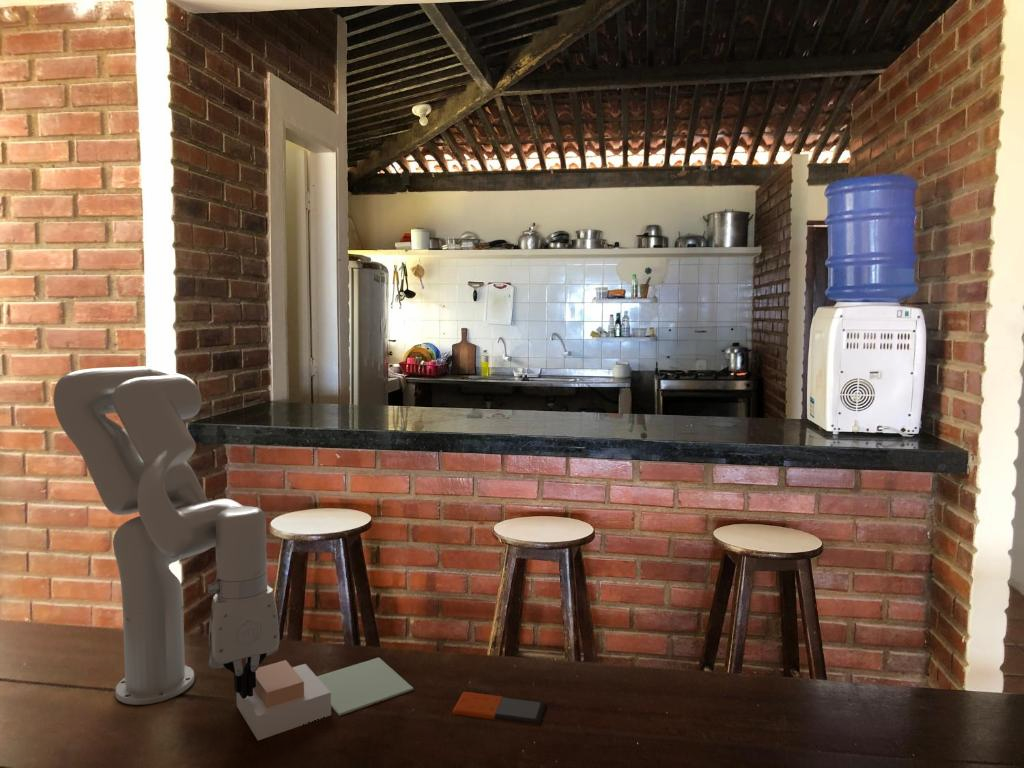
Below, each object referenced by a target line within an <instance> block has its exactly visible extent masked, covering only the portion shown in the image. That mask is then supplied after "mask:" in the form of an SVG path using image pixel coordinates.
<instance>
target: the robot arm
mask: <svg viewBox="0 0 1024 768" xmlns="http://www.w3.org/2000/svg"><path fill="white" fill-rule="evenodd" d="M202 399H203V398H202V393H201V390H200V389H199V387H198V385H197V384H196V383H195V382H194V380H192V379H191V378H190V377H189V376H186V375H185V374H181V373H178V372H174V371H171V370H166V369H162V368H158V367H154V366H147V365H145V366H142V365H138V366H116V367H114V366H113V367H109V366H108V367H94V368H93V367H92V368H86V369H85V368H84V369H79V370H74V371H72V372H68V373H67V374H65V375H63V376H62V377H60V378H59V380H58V381H57V382H56V384H55V387H54V390H53V407H54V410H55V411H54V412H55V415H56V418H57V421H58V423H59V424H60V427H61V428H62V429H63V432H64V433H65V434H66V436H67V437H68V438H69V439H70V441H71V443H72V444H73V445H74V446H75V447H76V449H77V450H78V452H79V453H80V455H81V456H82V459H83V461H84V463H85V465H86V469H87V470H88V472H89V475H90V477H91V480H92V481H93V483H94V486H95V488H96V490H97V492H98V495H99V497H100V499H101V501H102V503H103V504H104V506H105V508H106V509H107V510H108V511H109V512H110V513H112V514H114V515H117V516H123V515H124V516H125V515H132V514H135V513H136V514H137V513H138V514H139V515H138V516H136V517H133V518H131V519H129V520H127V521H126V522H125V521H124V522H123V524H121V525H120V526H119V527H118V528H117V530H116V531H115V534H114V535H113V539H112V547H113V553H114V557H115V560H116V565H117V569H118V573H119V574H118V575H119V579H120V580H119V581H120V587H121V588H120V589H121V605H122V606H121V609H122V622H123V623H122V625H123V626H122V629H123V651H124V653H123V654H124V657H123V658H124V675H125V677H123V678H122V679H121V680H120V681H119V682H118V683H117V685H116V686H115V698H116V699H117V700H118V701H119V702H121V703H123V704H127V705H131V706H133V705H134V706H137V705H138V706H139V705H140V706H142V705H151V704H156V703H160V702H163V701H168V700H170V699H172V698H174V697H176V696H179V695H181V694H182V693H184V692H185V691H186V690H188V689H189V688H190V687H191V686H192V685H193V684H194V681H195V679H196V678H195V671H194V669H193V668H191V667H190V666H189V665H186V662H185V657H186V656H185V636H184V635H185V633H184V632H185V629H184V599H183V595H184V594H183V588H182V583H181V581H180V580H179V578H178V577H177V576H176V575H175V574H174V573H173V572H172V570H171V569H170V565H171V564H173V563H176V562H178V561H181V560H184V559H187V558H189V557H192V556H196V555H198V554H202V553H204V552H206V551H208V550H210V549H211V548H215V553H216V554H215V556H216V559H215V561H216V576H215V580H214V582H212V583H209V584H207V585H206V587H207V588H206V589H207V593H208V594H210V593H215V594H214V595H213V599H212V602H211V609H210V615H209V625H208V626H209V627H208V650H209V652H210V654H209V657H208V658H209V659H208V666H209V667H210V669H223V668H225V669H226V670H229V672H232V673H233V677H234V678H233V679H234V680H233V681H234V684H233V686H234V687H233V688H234V691H235V693H236V694H237V693H238V692H239V694H240V696H241V697H242V699H244V698H246V697H247V696H249V697H251V696H253V688H255V687H256V671H257V670H258V668H259V667H260V665H261V663H262V662H263V660H264V659H265V658H266V657H268V656H270V655H272V654H274V653H276V652H278V650H279V648H280V647H279V645H280V625H279V618H278V609H277V602H276V599H275V598H276V597H275V593H274V590H273V588H272V587H270V586H269V585H268V558H267V557H268V556H267V554H268V553H267V551H268V550H267V521H266V520H267V518H266V513H265V512H264V510H263V509H262V508H260V507H258V506H257V507H256V506H251V505H250V506H249V505H243V504H241V503H240V502H237V501H236V500H233V499H230V498H224V497H223V498H218V499H214V500H210V501H209V500H208V497H207V495H206V494H205V492H204V490H203V487H202V486H201V483H200V482H199V479H198V476H197V475H196V472H194V469H193V468H192V466H191V465H190V464H189V463H188V462H187V461H188V460H189V459H190V458H191V457H192V456H193V454H194V453H195V451H196V448H197V444H196V441H195V440H194V438H193V436H192V434H191V433H190V431H189V429H188V428H187V426H186V425H185V423H184V421H183V420H189V419H192V418H194V417H196V416H197V415H198V414H199V412H200V410H201V408H202ZM115 413H116V414H117V416H118V418H119V420H120V422H121V425H123V427H122V426H121V425H120V424H118V423H117V422H115V421H114V420H112V419H110V418H109V417H107V415H108V414H115ZM245 659H246V661H245V665H243V663H242V660H245Z"/></svg>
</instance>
